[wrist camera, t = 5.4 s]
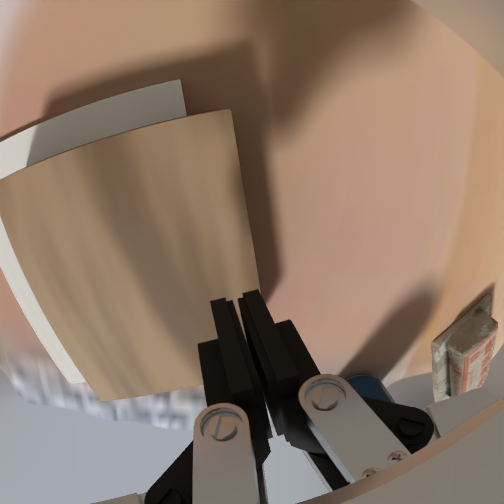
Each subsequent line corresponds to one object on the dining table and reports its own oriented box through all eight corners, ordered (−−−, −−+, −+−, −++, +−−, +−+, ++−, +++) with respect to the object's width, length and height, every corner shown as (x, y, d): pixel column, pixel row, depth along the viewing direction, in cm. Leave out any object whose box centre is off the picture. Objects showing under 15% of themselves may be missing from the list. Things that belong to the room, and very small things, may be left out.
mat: (180, 79, 14) (180, 79, 13) (238, 348, 22) (239, 351, 22) (-32, 161, 12) (-36, 162, 12) (70, 380, 20) (69, 383, 20)
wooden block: (230, 108, 11) (-10, 184, 10) (272, 366, 18) (101, 401, 16) (218, 109, 15) (25, 166, 13) (256, 325, 21) (107, 358, 20)
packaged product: (451, 368, 25) (511, 311, 25) (426, 341, 29) (485, 289, 29) (448, 422, 34) (495, 380, 33) (432, 401, 38) (478, 362, 37)
